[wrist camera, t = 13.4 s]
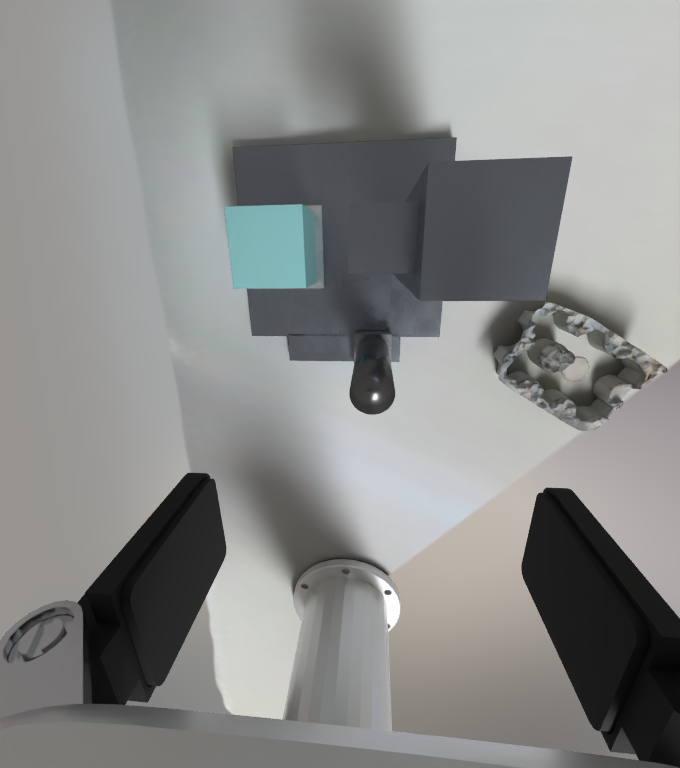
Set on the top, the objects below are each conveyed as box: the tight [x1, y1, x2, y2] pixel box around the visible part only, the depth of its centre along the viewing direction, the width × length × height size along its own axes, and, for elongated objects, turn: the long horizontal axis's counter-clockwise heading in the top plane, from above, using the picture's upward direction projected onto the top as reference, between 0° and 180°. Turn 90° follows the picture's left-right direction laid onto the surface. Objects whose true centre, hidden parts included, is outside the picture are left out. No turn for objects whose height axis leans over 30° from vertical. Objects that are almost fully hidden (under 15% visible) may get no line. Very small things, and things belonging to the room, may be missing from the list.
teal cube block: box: [224, 204, 317, 289], centre depth 25 cm, size 5×5×5 cm
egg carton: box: [493, 301, 667, 431], centre depth 28 cm, size 11×8×4 cm
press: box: [233, 137, 572, 362], centre depth 20 cm, size 16×16×18 cm
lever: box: [350, 331, 395, 414], centre depth 25 cm, size 3×3×10 cm
